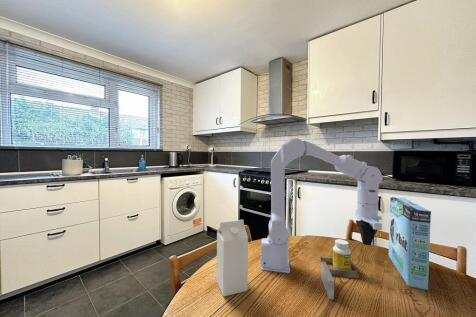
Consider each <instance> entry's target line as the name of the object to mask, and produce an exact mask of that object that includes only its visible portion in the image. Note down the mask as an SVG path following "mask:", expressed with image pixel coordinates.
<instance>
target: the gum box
mask: <svg viewBox="0 0 476 317" xmlns="http://www.w3.org/2000/svg"><path fill="white" fill-rule="evenodd" d="M389 198H390V199H389V200H390V203H389V204H390V205H389V225H388V226H389V227H388V228H389V230H388V231H389V232H388V234H389V235H388V257H389V259H390V260H391V262H392V263H393V265H394V266H395V268H396V269H397V271H398V272H399V275H400V276H401V277H402V279H403V280H404V282H405V283H406V285H407V286H408V287H411V288H415V289H420V290H424V291H429V272H430V249H431V248H430V247H431V246H430V245H431V244H430V242H431V218H432V210H429V209H427V208H425V207H423V206H421V205H419V204H417V203H415V202H413V201H411V200H409V199H407V198H406V197H389Z"/></svg>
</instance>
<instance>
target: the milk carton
mask: <svg viewBox="0 0 476 317" xmlns="http://www.w3.org/2000/svg"><path fill="white" fill-rule="evenodd" d="M244 221H245V220H244V219H239V220H230V221H220V222H219V228H218V230H217V231H216V283H217V285H218V287H219V289H220V292H221V295H222V296H223V297H227V296H232V295H236V294H240V293H244V292H248V285H249V284H248V282H249V280H248V278H249V277H248V274H249V273H248V272H249V265H248V264H249V236H248V232H247V230H246V227H245V222H244Z"/></svg>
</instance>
